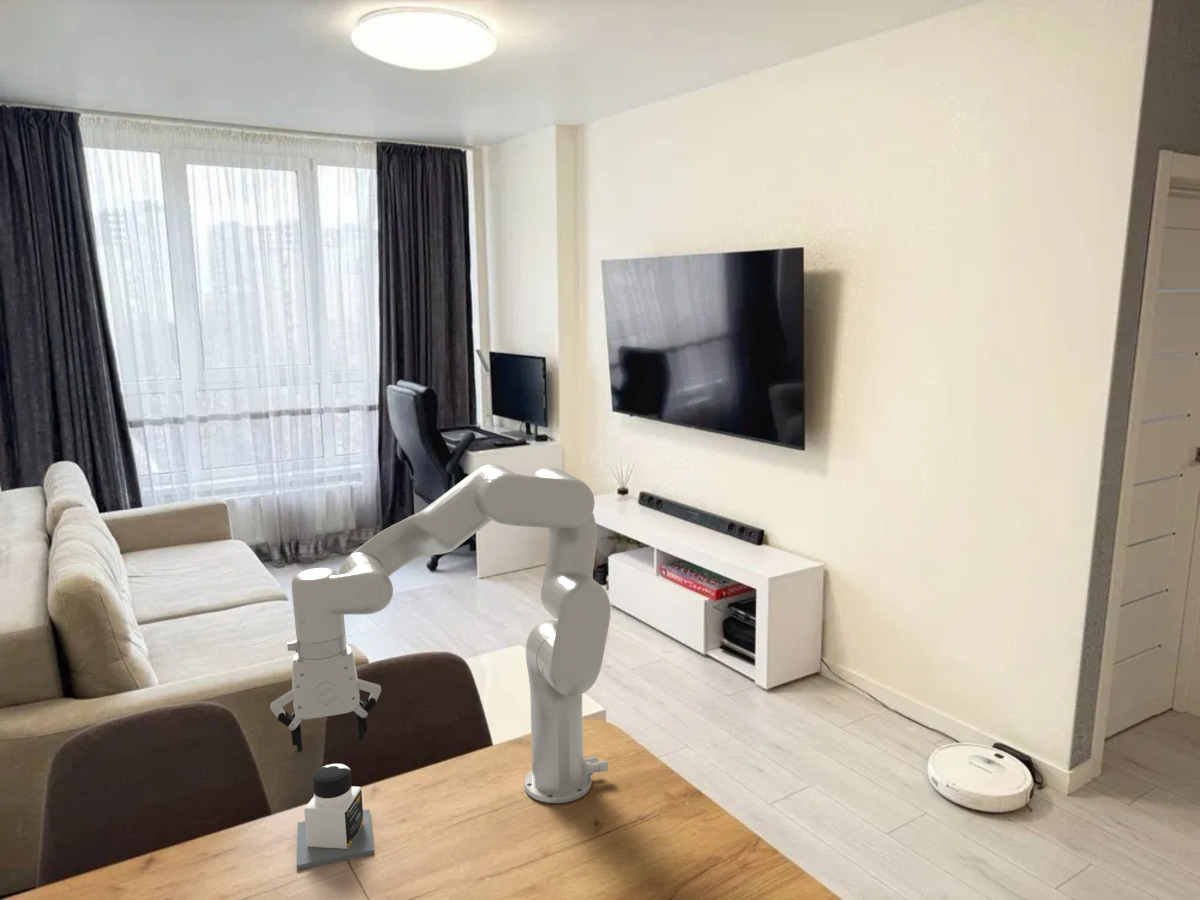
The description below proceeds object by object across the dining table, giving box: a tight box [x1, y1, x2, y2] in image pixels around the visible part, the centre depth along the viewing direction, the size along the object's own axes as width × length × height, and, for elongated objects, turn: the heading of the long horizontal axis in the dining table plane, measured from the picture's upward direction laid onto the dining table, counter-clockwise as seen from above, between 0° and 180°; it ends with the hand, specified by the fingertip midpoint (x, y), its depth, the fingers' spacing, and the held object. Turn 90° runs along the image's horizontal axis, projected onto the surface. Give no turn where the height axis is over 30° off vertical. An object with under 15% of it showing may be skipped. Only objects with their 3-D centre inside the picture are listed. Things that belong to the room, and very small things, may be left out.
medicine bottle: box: [304, 763, 364, 849], centre depth 142 cm, size 7×7×12 cm
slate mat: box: [296, 808, 375, 871], centre depth 143 cm, size 12×12×1 cm
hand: (330, 742), depth 140 cm, fingers open, 9 cm apart
